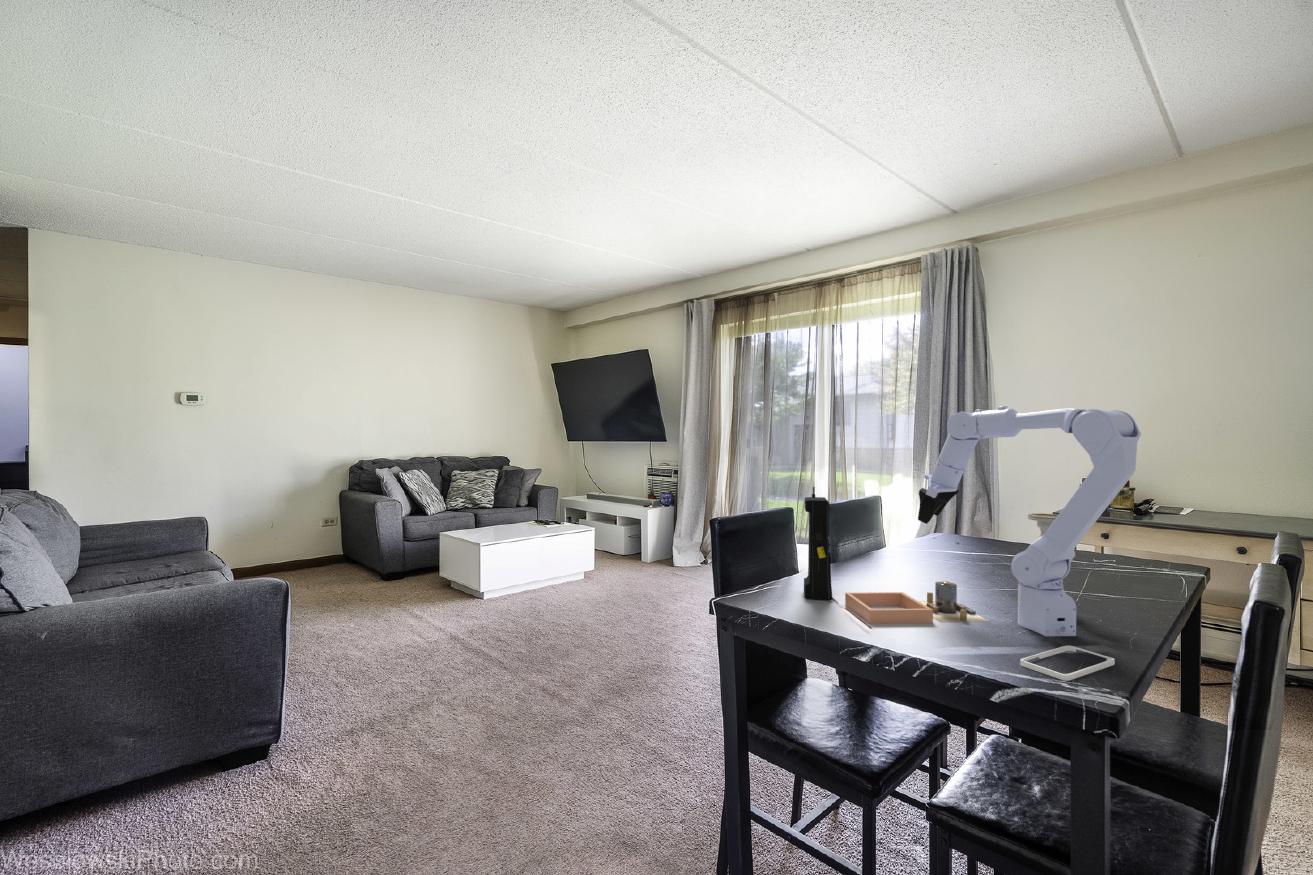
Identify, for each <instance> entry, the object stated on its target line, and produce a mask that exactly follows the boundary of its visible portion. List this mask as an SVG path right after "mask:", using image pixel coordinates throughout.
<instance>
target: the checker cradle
mask: <svg viewBox="0 0 1313 875" xmlns="http://www.w3.org/2000/svg"><path fill="white" fill-rule="evenodd" d="M918 601H919V600H918ZM919 602H920V603H922V604H924V605H926V606H927V607H929V608H931V609H933V620H936V621H938V622H940V623H979V622H980V623H982V622H983V623H984V622H985V623H988V622H990V620H988V619H986V618H984V617H983V616H980V615H978V614H976V610H974V609H972V608H970V607H968V606H966V605H964V604H962V603H959V602H957V612H956V613H955V614H946V613H941V612H938V607H936V606H935V600H934V593H933V592H927V593H926V600H922V601H921V600H920V601H919Z"/></svg>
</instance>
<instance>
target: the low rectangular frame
mask: <svg viewBox="0 0 1313 875" xmlns="http://www.w3.org/2000/svg"><path fill="white" fill-rule="evenodd" d="M844 593H845V596H844V597H845V598H844V605H845V608H844V609H845V610H846V611H847V612H849V613H850V614H851V615H852V616H853V617H855V618H856V619H857V620H859V622H861V623H863V625H865V626H866V627H868V628H869V629H872V627H871V626H870V625H869V624H933V623H934V618H933V609H931V608H929V607H927V606H926V605H924V604H922V603H920V602H919V600H917V599H915V598H914V597H911V596H910V595H908V594H906V593H905V592H903V591H893V592H891V591H888V592H886V591H884V592H882V591H881V592H879V591H878V592H877V591H876V592H872V591H871V592H844ZM846 606H847V607H848V608H849V609H848V608H847V607H846ZM870 606H901V607H903V608H871V607H870ZM851 610H852V611H853V612H852V611H851ZM855 613H856V614H857V615H858V616H857V615H856V614H855ZM859 616H860V617H859ZM861 618H862V619H861ZM863 620H864V621H863ZM865 621H866V622H867V623H866V622H865Z"/></svg>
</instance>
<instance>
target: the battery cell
mask: <svg viewBox="0 0 1313 875" xmlns="http://www.w3.org/2000/svg"><path fill="white" fill-rule="evenodd" d="M957 586H958V585H957V584H956V583H955V582H950V581H947V580H942V581H936V582H935V586H934V587H935V590H934V592H935V594H934V601H935V606H936V607H938V612H941V613H946V614H955V613H956V612H957V603H958V602H957V600H958V594H957V593H958V587H957Z"/></svg>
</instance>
